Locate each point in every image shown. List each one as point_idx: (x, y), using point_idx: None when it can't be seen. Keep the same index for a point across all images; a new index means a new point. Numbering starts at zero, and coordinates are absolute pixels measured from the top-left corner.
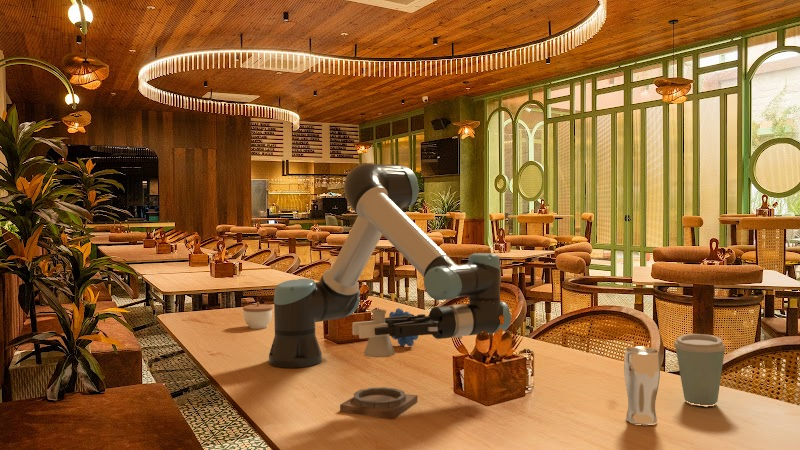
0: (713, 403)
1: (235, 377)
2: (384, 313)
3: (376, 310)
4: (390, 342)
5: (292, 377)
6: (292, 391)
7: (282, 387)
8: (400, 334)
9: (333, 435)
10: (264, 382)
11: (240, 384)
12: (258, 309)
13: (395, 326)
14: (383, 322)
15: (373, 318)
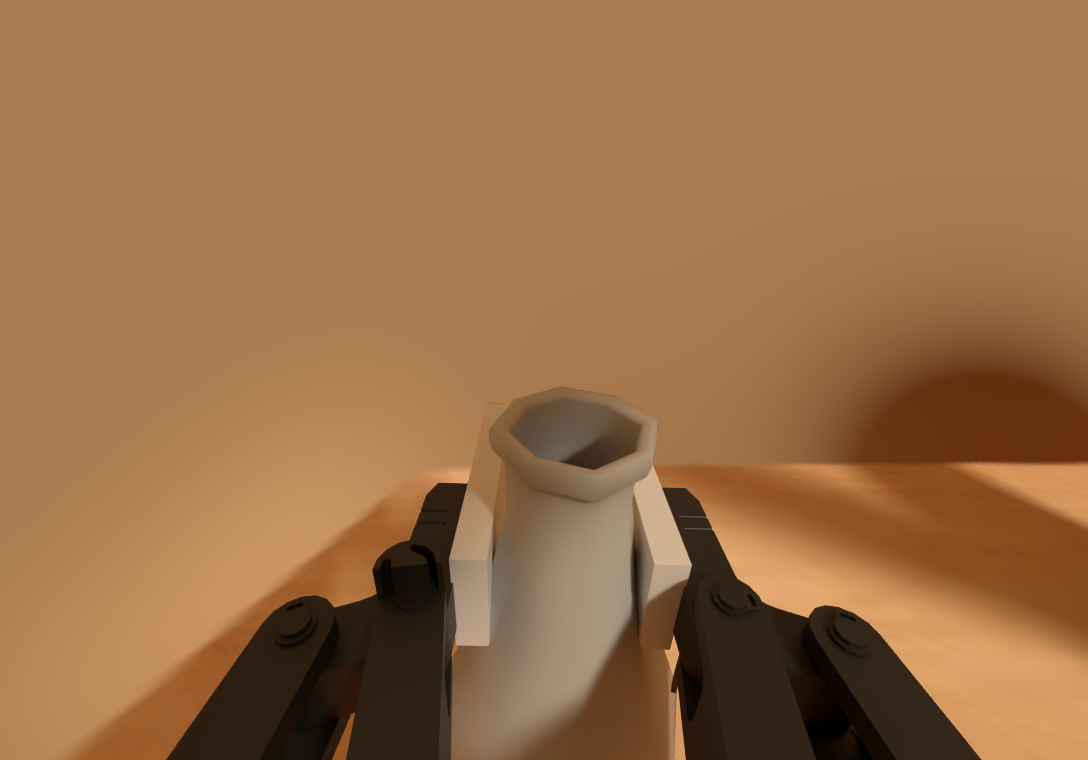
0: None
1: (949, 493)
2: (509, 466)
3: (638, 428)
4: (484, 736)
5: (1029, 628)
6: (815, 580)
7: (863, 566)
8: (292, 730)
9: (372, 562)
10: (914, 538)
11: (874, 491)
12: None
13: (307, 601)
14: (507, 535)
15: (595, 464)
